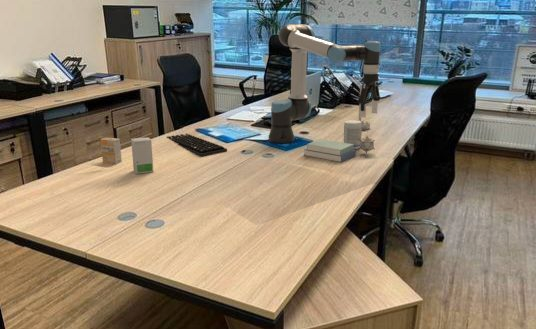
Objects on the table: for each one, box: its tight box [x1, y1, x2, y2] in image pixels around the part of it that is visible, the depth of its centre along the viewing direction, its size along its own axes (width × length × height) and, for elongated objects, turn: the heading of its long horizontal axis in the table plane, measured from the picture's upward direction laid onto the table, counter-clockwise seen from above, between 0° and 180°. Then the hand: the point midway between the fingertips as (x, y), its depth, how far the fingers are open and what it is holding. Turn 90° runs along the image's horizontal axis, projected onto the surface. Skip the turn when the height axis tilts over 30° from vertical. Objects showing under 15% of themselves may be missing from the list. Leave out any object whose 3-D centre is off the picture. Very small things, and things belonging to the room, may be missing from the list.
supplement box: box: [99, 137, 123, 166], centre depth 219 cm, size 8×5×13 cm, turn 70°
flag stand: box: [358, 83, 371, 131], centre depth 285 cm, size 13×13×30 cm
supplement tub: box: [343, 119, 363, 150], centre depth 246 cm, size 10×10×15 cm
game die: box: [358, 135, 376, 154], centre depth 234 cm, size 9×8×10 cm
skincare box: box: [130, 137, 154, 175], centre depth 208 cm, size 8×7×16 cm
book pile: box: [303, 138, 357, 163], centre depth 232 cm, size 22×15×6 cm
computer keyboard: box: [166, 133, 228, 158], centre depth 252 cm, size 45×16×4 cm, turn 38°
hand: (368, 115), depth 230 cm, fingers open, 13 cm apart
